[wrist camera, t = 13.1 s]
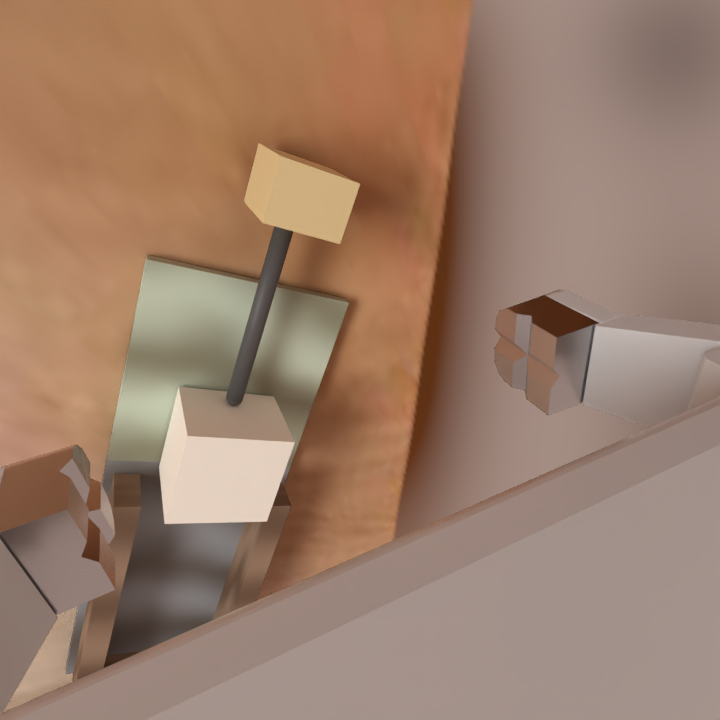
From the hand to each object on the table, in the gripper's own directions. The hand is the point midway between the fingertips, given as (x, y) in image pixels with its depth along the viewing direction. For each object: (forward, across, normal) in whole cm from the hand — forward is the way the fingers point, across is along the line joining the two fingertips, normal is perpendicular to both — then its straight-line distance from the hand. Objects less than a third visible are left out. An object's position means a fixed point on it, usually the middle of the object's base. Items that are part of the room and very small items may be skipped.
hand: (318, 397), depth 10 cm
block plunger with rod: (+20, -1, +8) cm, 22 cm away
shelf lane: (+21, +5, +20) cm, 29 cm away
